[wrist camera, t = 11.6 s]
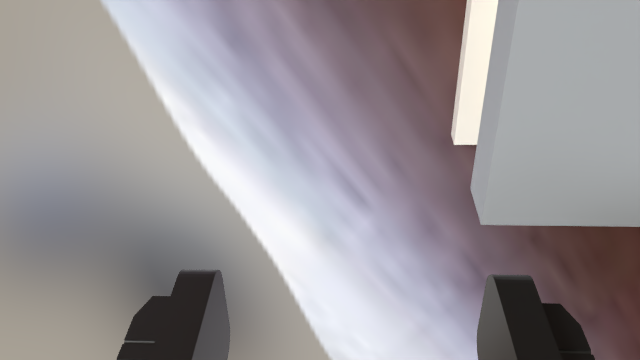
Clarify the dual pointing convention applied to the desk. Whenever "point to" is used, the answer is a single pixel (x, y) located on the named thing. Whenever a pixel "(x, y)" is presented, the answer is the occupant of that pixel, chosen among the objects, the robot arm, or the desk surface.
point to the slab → (561, 116)
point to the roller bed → (473, 70)
